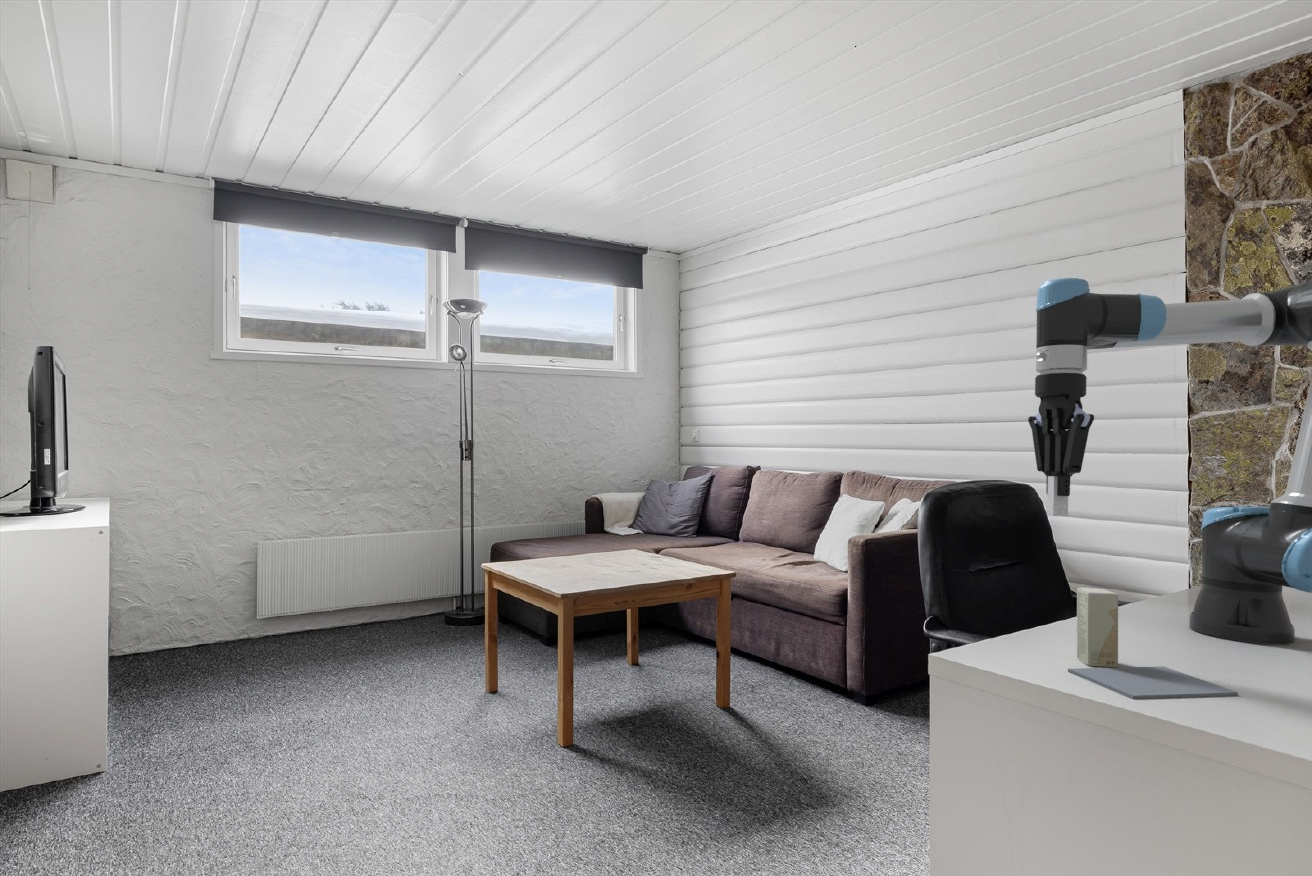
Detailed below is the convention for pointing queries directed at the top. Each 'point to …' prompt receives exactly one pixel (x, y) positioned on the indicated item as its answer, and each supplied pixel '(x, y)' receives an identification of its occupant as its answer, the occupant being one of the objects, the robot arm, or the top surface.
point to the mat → (1151, 682)
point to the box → (1097, 627)
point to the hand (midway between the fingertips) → (1057, 515)
